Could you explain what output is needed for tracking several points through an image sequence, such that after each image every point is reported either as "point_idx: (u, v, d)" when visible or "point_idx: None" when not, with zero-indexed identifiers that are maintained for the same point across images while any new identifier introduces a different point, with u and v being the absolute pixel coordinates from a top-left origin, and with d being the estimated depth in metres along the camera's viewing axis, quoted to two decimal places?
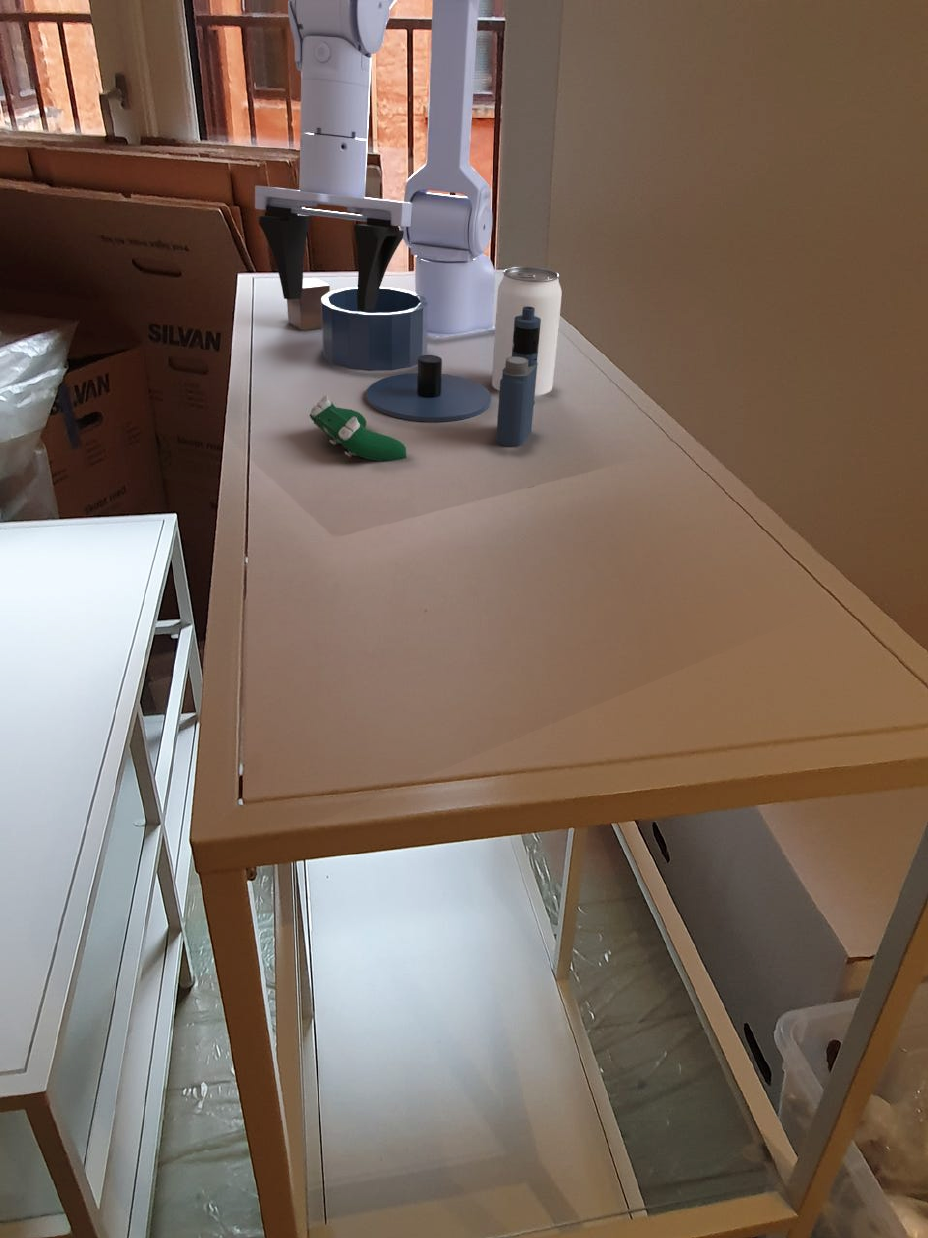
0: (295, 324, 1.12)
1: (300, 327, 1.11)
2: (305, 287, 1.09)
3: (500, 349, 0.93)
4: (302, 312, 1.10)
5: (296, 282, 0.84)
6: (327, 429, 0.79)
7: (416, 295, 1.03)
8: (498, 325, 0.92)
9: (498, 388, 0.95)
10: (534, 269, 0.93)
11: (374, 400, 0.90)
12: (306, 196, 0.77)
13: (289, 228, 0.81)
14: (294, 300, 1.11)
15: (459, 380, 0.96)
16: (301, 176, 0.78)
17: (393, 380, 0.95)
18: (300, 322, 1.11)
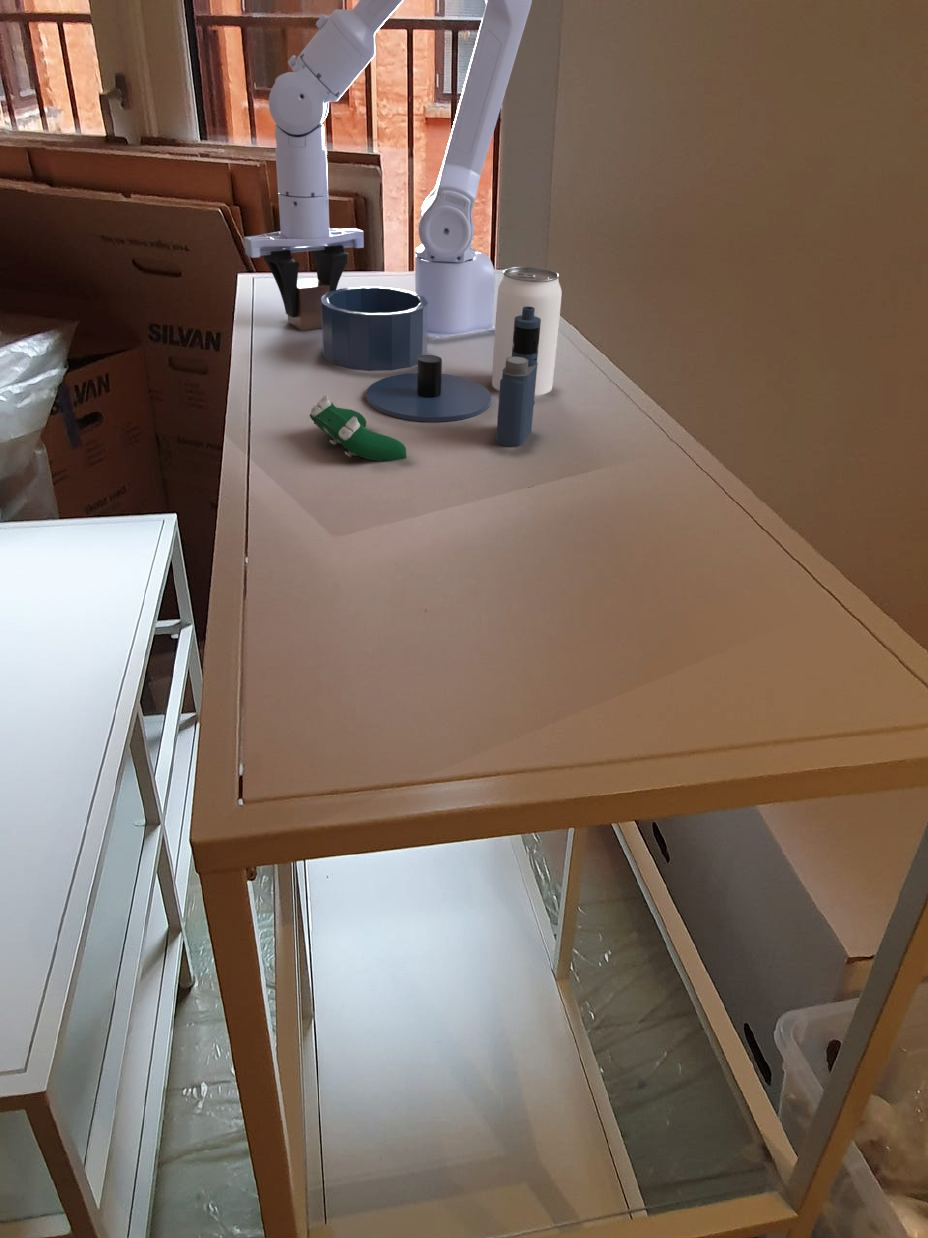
0: (295, 324, 1.12)
1: (300, 327, 1.11)
2: (305, 287, 1.09)
3: (500, 349, 0.93)
4: (302, 312, 1.10)
5: None
6: (327, 429, 0.79)
7: (416, 295, 1.03)
8: (498, 325, 0.92)
9: (498, 388, 0.95)
10: (534, 269, 0.93)
11: (374, 400, 0.90)
12: None
13: (319, 258, 1.11)
14: None
15: (459, 380, 0.96)
16: None
17: (393, 380, 0.95)
18: (299, 323, 1.11)
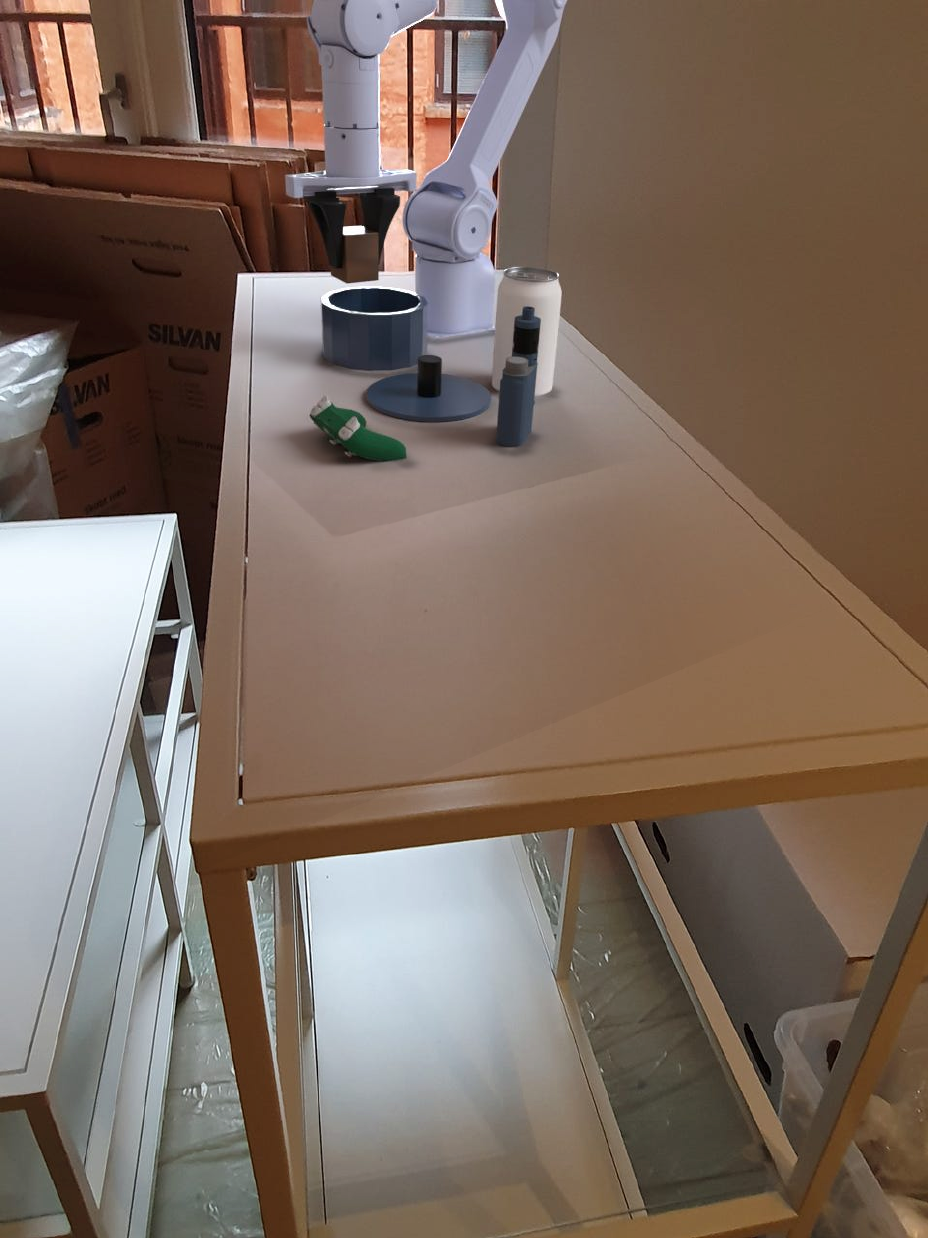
0: (339, 277, 1.01)
1: (345, 280, 1.00)
2: (351, 234, 0.98)
3: (500, 349, 0.93)
4: (348, 263, 0.99)
5: None
6: (327, 429, 0.79)
7: (416, 295, 1.03)
8: (498, 325, 0.92)
9: (498, 388, 0.95)
10: (534, 269, 0.93)
11: (374, 400, 0.90)
12: None
13: (366, 203, 0.99)
14: None
15: (459, 380, 0.96)
16: None
17: (393, 380, 0.95)
18: (344, 274, 0.99)
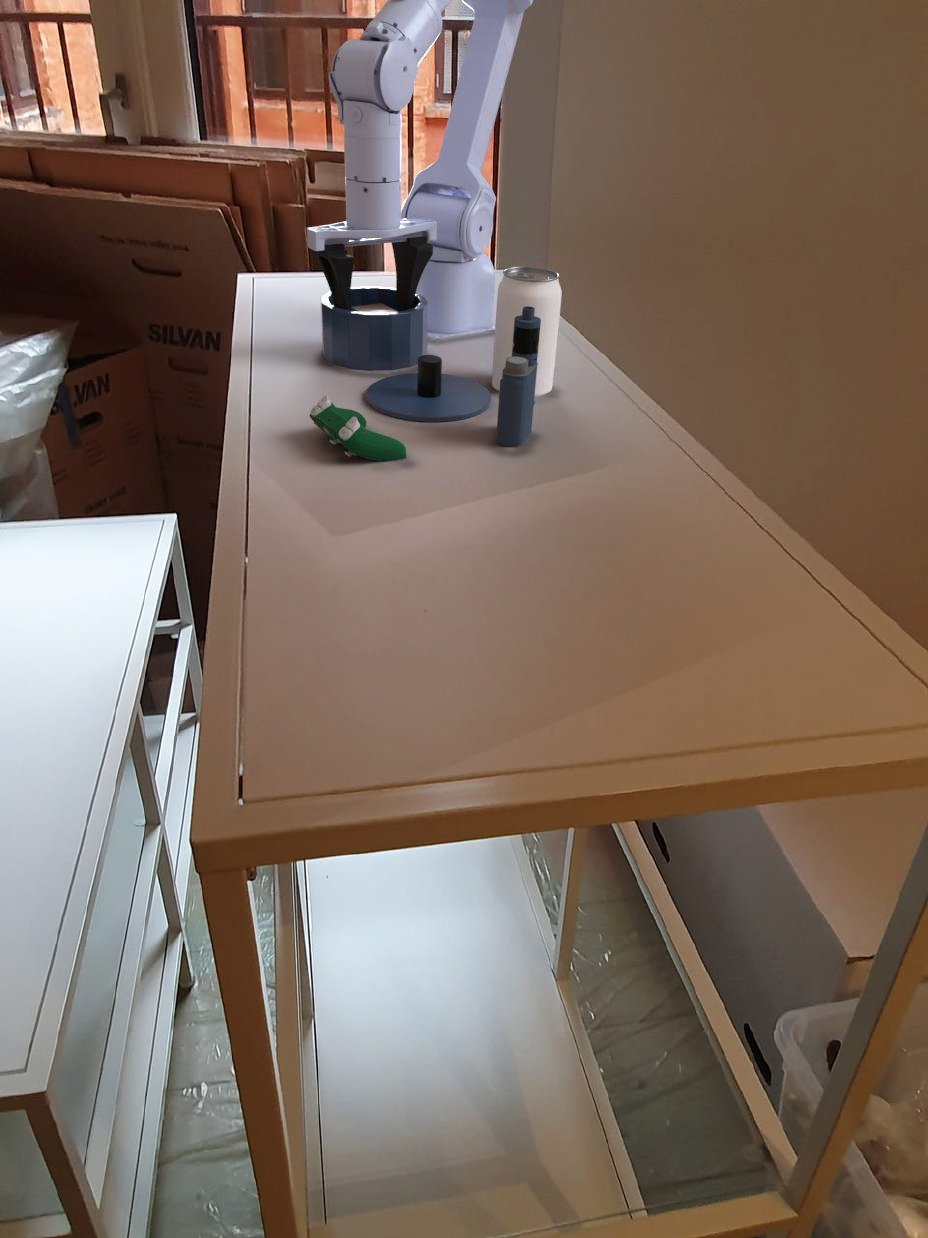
0: None
1: None
2: None
3: (500, 349, 0.93)
4: None
5: (403, 296, 1.02)
6: (327, 429, 0.79)
7: (416, 295, 1.03)
8: (498, 325, 0.92)
9: (498, 388, 0.95)
10: (534, 269, 0.93)
11: (374, 400, 0.90)
12: None
13: (399, 251, 1.00)
14: None
15: (459, 380, 0.96)
16: None
17: (393, 380, 0.95)
18: None
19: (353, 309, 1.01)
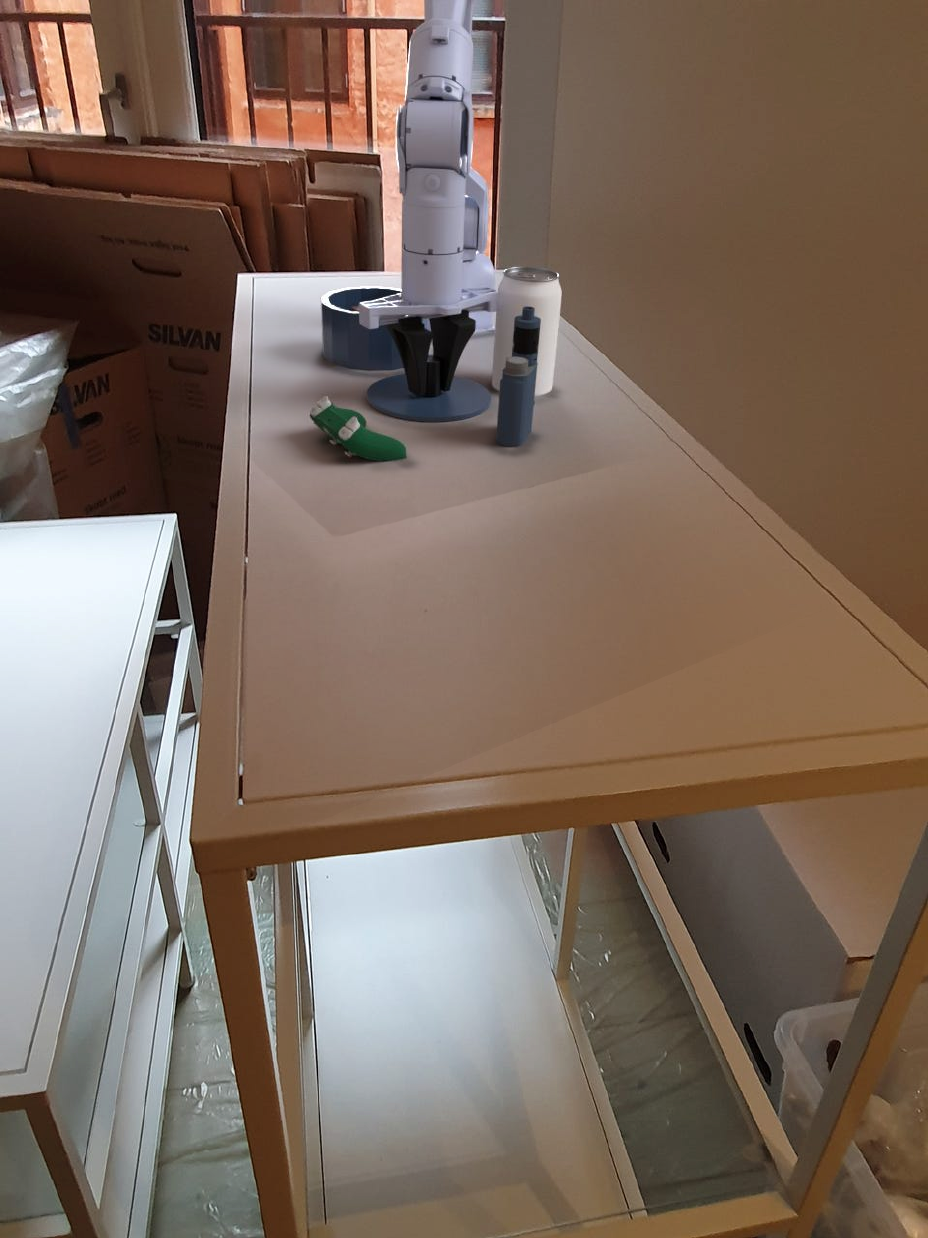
0: None
1: None
2: None
3: (500, 349, 0.93)
4: None
5: None
6: (327, 429, 0.79)
7: None
8: (498, 325, 0.92)
9: (498, 388, 0.95)
10: (534, 269, 0.93)
11: (374, 400, 0.90)
12: (451, 311, 0.84)
13: None
14: None
15: (459, 380, 0.96)
16: (426, 292, 0.84)
17: (393, 380, 0.95)
18: None
19: (353, 309, 1.01)
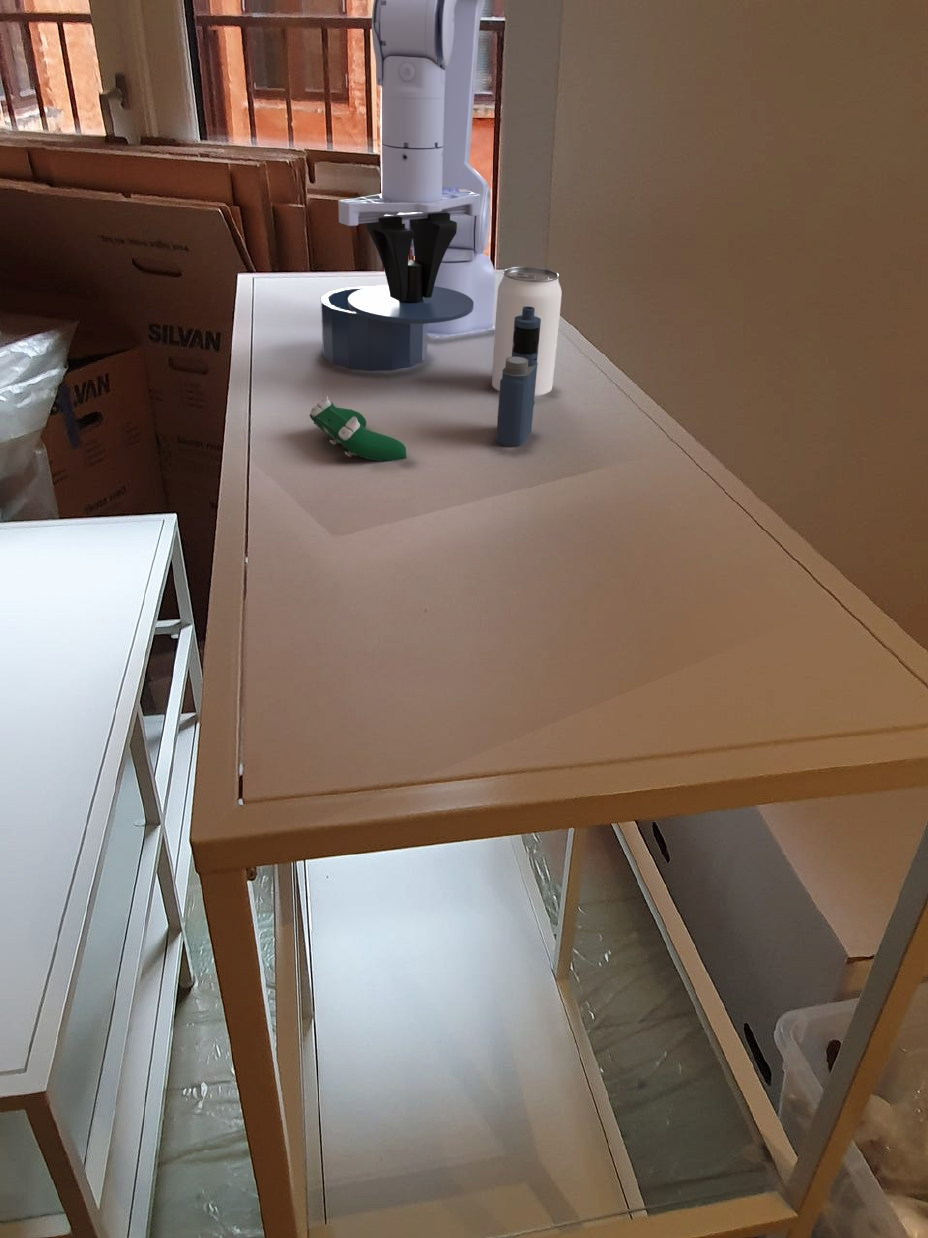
0: None
1: None
2: None
3: (500, 349, 0.93)
4: None
5: None
6: (327, 429, 0.79)
7: None
8: (498, 325, 0.92)
9: (498, 388, 0.95)
10: (534, 269, 0.93)
11: (355, 304, 0.89)
12: (431, 208, 0.84)
13: None
14: None
15: (442, 290, 0.95)
16: (406, 188, 0.83)
17: (375, 289, 0.94)
18: None
19: None
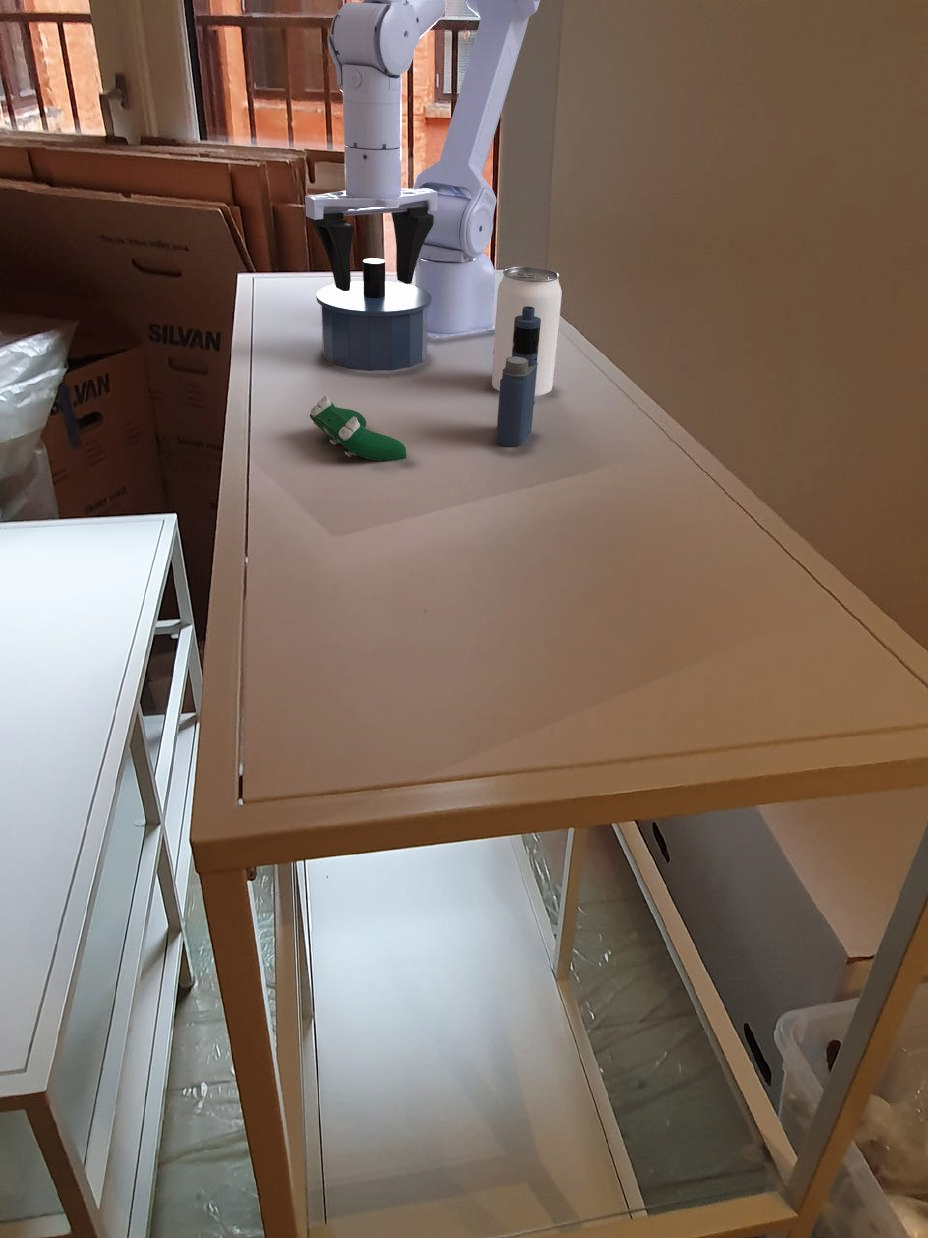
0: None
1: None
2: None
3: (500, 349, 0.93)
4: None
5: None
6: (327, 429, 0.79)
7: None
8: (498, 325, 0.92)
9: (498, 388, 0.95)
10: (534, 269, 0.93)
11: (322, 298, 0.98)
12: (390, 204, 0.92)
13: None
14: None
15: (404, 286, 1.04)
16: (367, 185, 0.91)
17: None
18: None
19: None
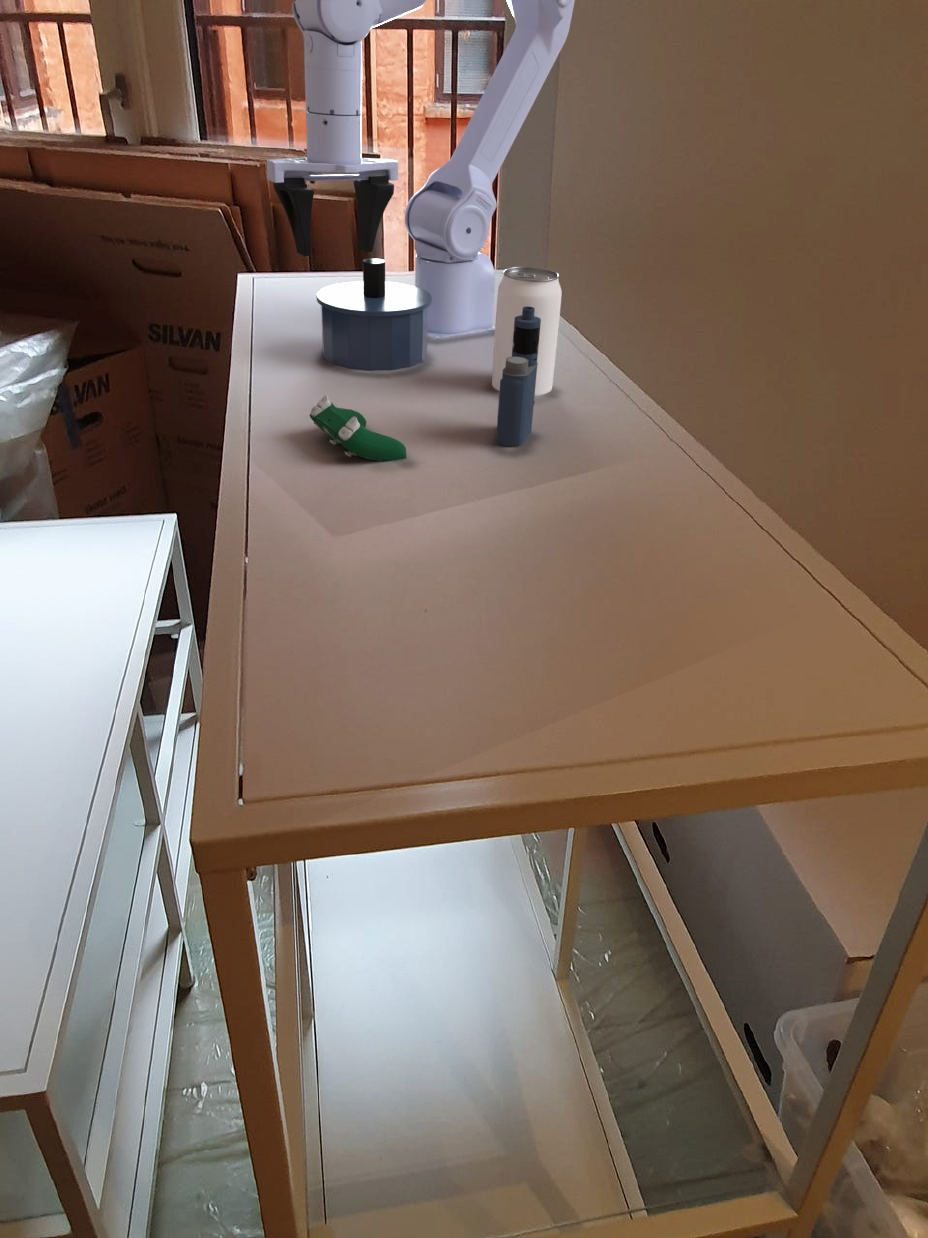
0: None
1: None
2: None
3: (500, 349, 0.93)
4: None
5: None
6: (327, 429, 0.79)
7: None
8: (498, 325, 0.92)
9: (498, 388, 0.95)
10: (534, 269, 0.93)
11: (322, 298, 0.98)
12: (349, 169, 0.94)
13: None
14: None
15: (404, 286, 1.04)
16: (327, 151, 0.93)
17: (343, 285, 1.03)
18: None
19: None
